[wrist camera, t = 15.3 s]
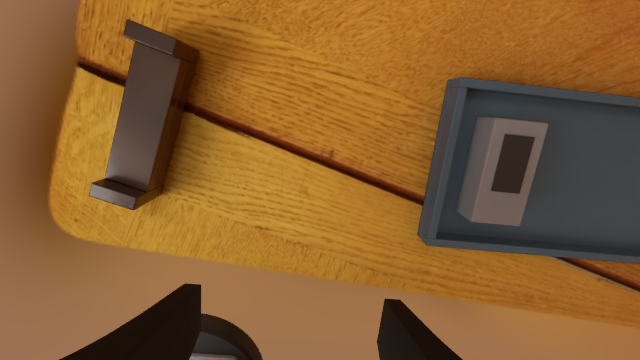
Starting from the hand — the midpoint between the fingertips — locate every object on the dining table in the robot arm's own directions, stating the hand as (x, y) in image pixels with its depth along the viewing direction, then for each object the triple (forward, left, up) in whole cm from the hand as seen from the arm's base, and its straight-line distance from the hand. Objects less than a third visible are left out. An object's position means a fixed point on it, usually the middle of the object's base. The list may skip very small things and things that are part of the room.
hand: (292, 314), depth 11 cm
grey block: (+5, -11, -8) cm, 15 cm away
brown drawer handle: (+6, +9, -8) cm, 14 cm away
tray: (+5, -21, -8) cm, 23 cm away
